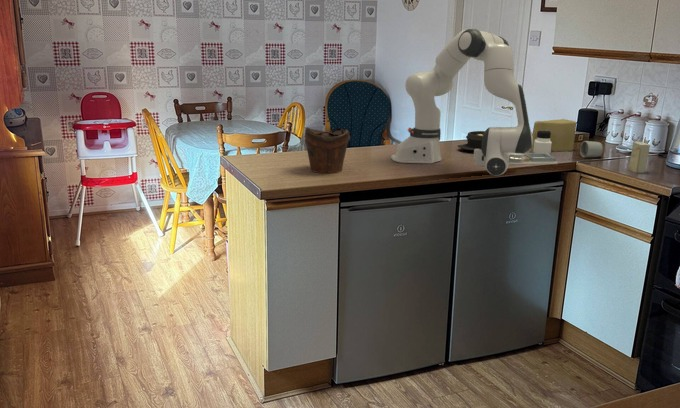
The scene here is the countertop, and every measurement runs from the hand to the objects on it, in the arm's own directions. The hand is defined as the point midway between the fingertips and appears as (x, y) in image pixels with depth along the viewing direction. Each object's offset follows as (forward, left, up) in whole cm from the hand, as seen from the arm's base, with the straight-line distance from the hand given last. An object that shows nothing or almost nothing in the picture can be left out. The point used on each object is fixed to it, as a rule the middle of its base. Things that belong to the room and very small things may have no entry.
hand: (499, 152), depth 255 cm
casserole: (+7, +43, -8) cm, 45 cm away
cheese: (+40, +41, -8) cm, 58 cm away
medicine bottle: (+31, +29, -8) cm, 44 cm away
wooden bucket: (-72, +4, -8) cm, 72 cm away
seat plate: (+19, +18, -8) cm, 28 cm away
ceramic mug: (+53, +27, -8) cm, 60 cm away
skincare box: (+59, -4, -8) cm, 60 cm away
